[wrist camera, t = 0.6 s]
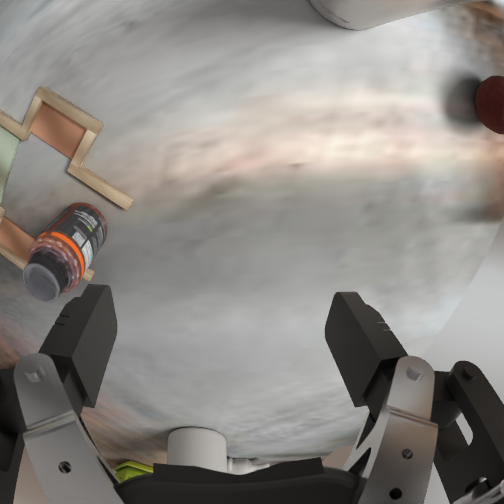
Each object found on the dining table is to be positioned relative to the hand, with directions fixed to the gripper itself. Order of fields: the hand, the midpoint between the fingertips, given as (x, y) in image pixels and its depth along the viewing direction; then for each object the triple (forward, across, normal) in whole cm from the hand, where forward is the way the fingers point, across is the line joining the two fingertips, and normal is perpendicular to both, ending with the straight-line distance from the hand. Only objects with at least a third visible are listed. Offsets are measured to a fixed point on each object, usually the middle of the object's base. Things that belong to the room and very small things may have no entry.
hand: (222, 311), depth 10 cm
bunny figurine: (+25, -7, +70) cm, 75 cm away
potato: (+20, -32, -16) cm, 40 cm away
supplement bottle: (+22, +15, +6) cm, 27 cm away
